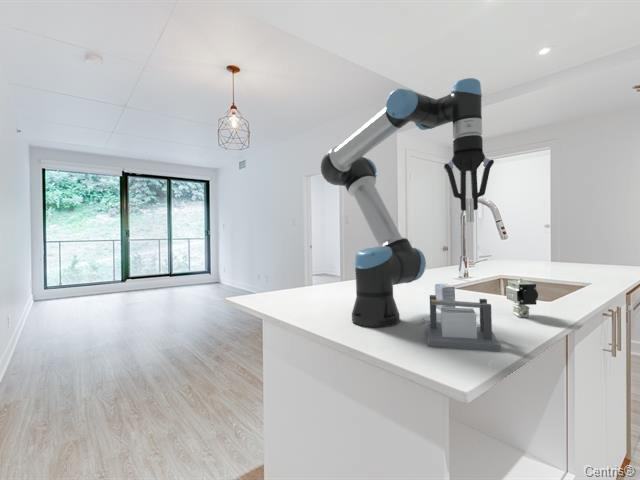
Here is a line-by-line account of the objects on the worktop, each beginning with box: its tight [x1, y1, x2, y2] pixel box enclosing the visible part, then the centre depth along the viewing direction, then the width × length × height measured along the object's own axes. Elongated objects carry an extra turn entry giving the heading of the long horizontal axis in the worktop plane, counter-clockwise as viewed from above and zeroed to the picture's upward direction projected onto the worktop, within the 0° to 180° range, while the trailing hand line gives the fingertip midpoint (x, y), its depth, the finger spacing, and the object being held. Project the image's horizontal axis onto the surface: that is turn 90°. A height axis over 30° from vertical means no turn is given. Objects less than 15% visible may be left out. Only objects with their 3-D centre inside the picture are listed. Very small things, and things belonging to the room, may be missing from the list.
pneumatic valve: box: [504, 278, 539, 319], centre depth 107 cm, size 6×12×12 cm, turn 174°
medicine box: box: [434, 283, 457, 311], centre depth 119 cm, size 8×4×9 cm, turn 179°
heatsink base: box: [427, 294, 501, 352], centre depth 87 cm, size 16×14×10 cm
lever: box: [431, 299, 488, 309], centre depth 87 cm, size 14×4×1 cm, turn 73°
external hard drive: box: [422, 310, 441, 325], centre depth 107 cm, size 2×8×12 cm
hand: (469, 222), depth 95 cm, fingers closed
